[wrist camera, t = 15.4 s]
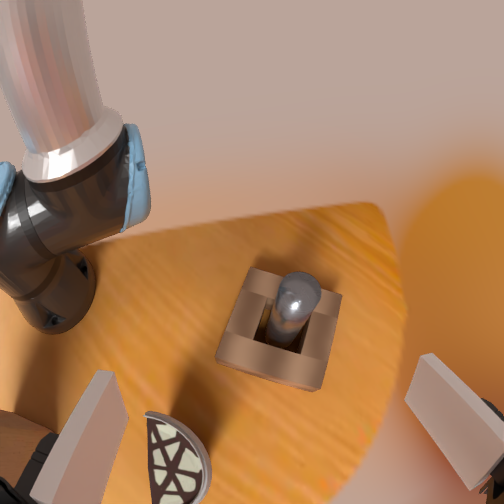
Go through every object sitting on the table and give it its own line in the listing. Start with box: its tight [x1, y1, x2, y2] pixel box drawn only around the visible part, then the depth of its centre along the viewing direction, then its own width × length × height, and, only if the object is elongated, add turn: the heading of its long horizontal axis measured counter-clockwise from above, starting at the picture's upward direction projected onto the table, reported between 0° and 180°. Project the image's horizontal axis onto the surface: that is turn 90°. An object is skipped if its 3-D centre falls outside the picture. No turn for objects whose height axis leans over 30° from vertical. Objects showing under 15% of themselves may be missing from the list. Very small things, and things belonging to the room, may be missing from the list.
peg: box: [265, 272, 321, 349], centre depth 32 cm, size 4×4×14 cm
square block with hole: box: [215, 267, 342, 392], centre depth 36 cm, size 13×13×4 cm
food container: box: [143, 411, 212, 504], centre depth 23 cm, size 12×6×10 cm, turn 3°
